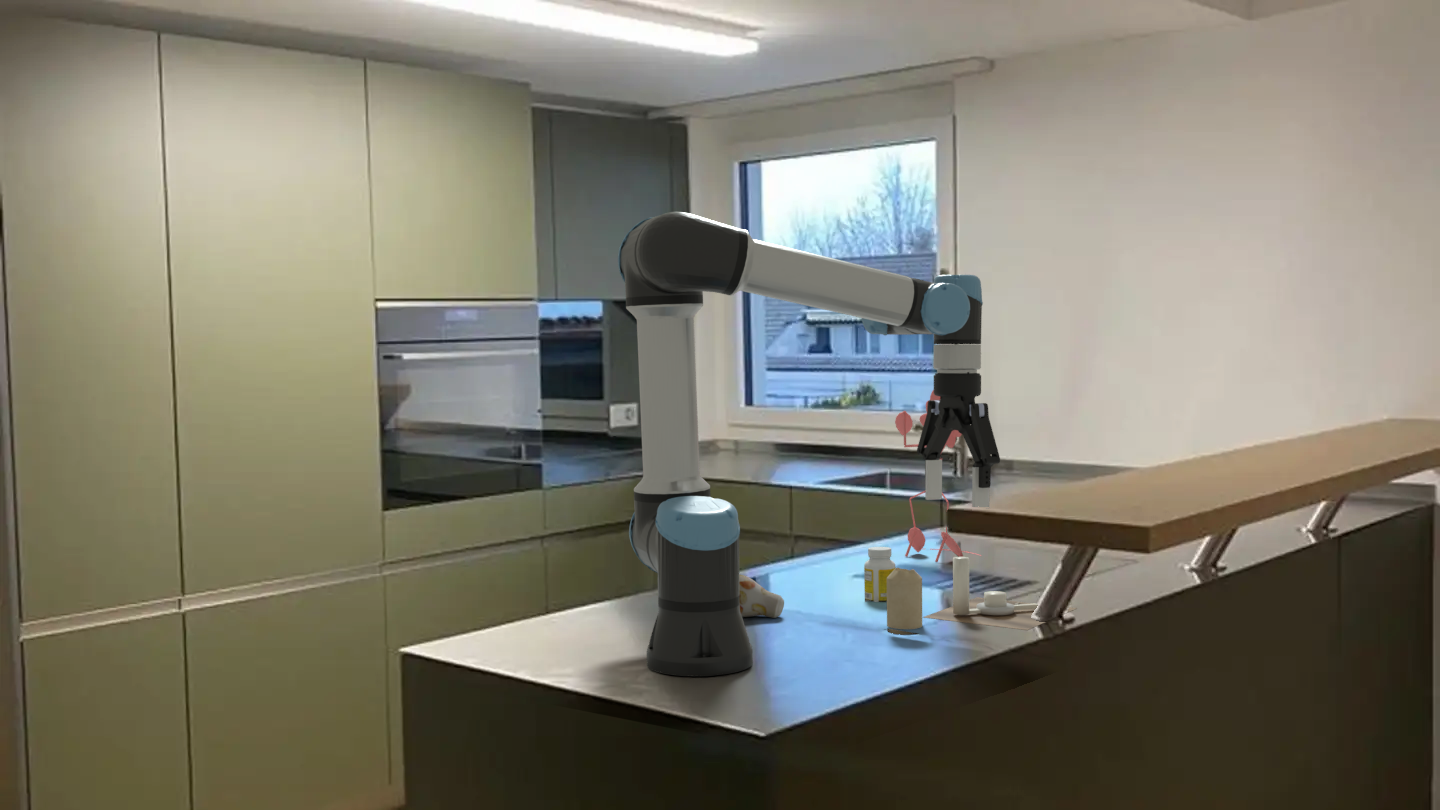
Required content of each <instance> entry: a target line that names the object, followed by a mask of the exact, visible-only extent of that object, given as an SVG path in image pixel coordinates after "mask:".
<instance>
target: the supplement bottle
mask: <svg viewBox="0 0 1440 810" xmlns="http://www.w3.org/2000/svg"><path fill="white" fill-rule="evenodd" d="M867 554H868V555H867V556H868V558H869V559H868V560H867V561H865V562H864V567H863V568H864V569H863V571H864V572H863V573H864V574H863V575H864V578H863V579H864V583H863V585H864V603H866V602H874V603H887V577H888V576H889V575H890V574H891V573H892V571H893V570H894V569H896V568H897V566H896V562H895V561H894V560H892V559H891V557H892V554H893V553H892V548H891V547H888V546H872V547H868V548H867Z"/></svg>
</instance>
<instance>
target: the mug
mask: <svg viewBox="0 0 1440 810" xmlns="http://www.w3.org/2000/svg"><path fill="white" fill-rule="evenodd" d="M739 594H740V595H739V599H740V613H741V616H742V618H750V617H758V616H759V617H760V616H762V617H768V618H771V619H777V618H778V617H780V616H781V614H782V613H783V610H784V607H785V600H784V599H783V596H781V595H779V594H777V593H774V592H771V591H769V590H768V589H765V588H764V587H763V586H762V585H760V584H759V583H758V582H756V581H755V580H754V579H752V578H750V577H749V576H747V575H743V574H739Z"/></svg>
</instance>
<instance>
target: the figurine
mask: <svg viewBox="0 0 1440 810" xmlns="http://www.w3.org/2000/svg"><path fill="white" fill-rule="evenodd" d="M929 400H940V396H936V395H934V389H933V390H932V391H931V394H930V396H929ZM929 400H927V401H926V402H925V411H926V412H925V413H924V414H921V415H920V417H919V422H920V424H921V425H922V427H923V426H924V423H925V419H926V416H927V408H928V401H929ZM894 424H895V428H896V429H897V431H898V432H899V434H900V435H901V436H903V448H918V444H919V443H915V444H907V434H908V433H909V432H911V430H912V427H914V426H913V425H914V423H913V419H912V416H911V415H910V414H909V413H908V412H907V411H906V410H903V411H901V412H899V413H897V415H896V417H895V420H894ZM962 436H963V435H962V434H961V433H959V431H958V430H953V431H952V432H951V434H950V436H949V438H948V440H947V442H946V444H945V446H944V448H943V450H942V452H941V454H942V453H943V451H944V449H945V448H946V447H948V448H949V449H953V448H954V447H955V444H956V442H957V441H956V440H957V438H960V437H962ZM925 447H926V446H925ZM938 460H942V461H943V458H942V459H938ZM924 493H925V490H923V491H920V493H917V494H914V495H912V496H911V497H909V499H908V500H909V507H910V513H911V519H912V523H913V527H912V528H909V531H908V533H907V541H908V543H909V544H908V547H907V549H906V552H905V554H904V557H906V558H907V557H908V556H909V554H910V550H911V548H913V549H914V550H915V552H916V553H919V552H921V551H922V550H923V549H924V547H925V546H926V537H925V535H924V532H923V531H922V529H920V528H918V527H916V526H917V525H916V520H915V515H914V508H913V504H912V500H913V499H914V498H917V497H918V496H920V495H922V494H924ZM942 498H943V499H944V501H946V511H947V510H948V509H949V508H950V503H949V500H948V499H947V497H946V496H945V494H944V493H943V492H942ZM949 510H950V509H949ZM948 533H949V531H948V532H947V527H946V526H945V531H942V532H941V534H940V536H941V538H942V541H941V544H940V546H939V548H931V550H935V551H937V550H938V552H937V555H936V558H935V560H934V562H935V563H938V562H939V559H940V556H941V553H942V551H948V552H949V551H952V553H954V555H956V557H964V554H963V553H969V554H973V555H977V556H980V557H982V555H981V554H978V553H975V552H970V551H966V550H962V549H961V548H960V545H959V544H958V543H957V542H956V541H955V539H954V538H953V537H952V536H951V535H949V534H948ZM944 545H946V546H947V549H946V548H944V547H945V546H944Z"/></svg>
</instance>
